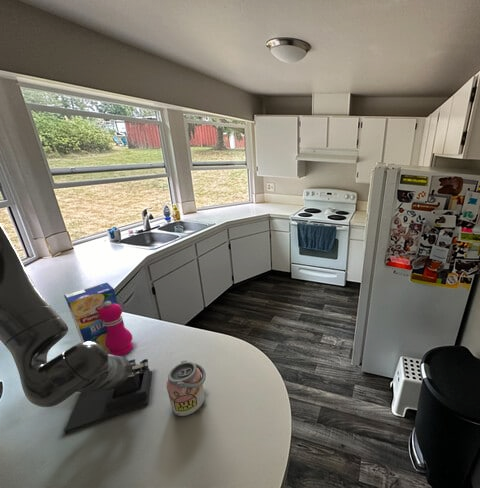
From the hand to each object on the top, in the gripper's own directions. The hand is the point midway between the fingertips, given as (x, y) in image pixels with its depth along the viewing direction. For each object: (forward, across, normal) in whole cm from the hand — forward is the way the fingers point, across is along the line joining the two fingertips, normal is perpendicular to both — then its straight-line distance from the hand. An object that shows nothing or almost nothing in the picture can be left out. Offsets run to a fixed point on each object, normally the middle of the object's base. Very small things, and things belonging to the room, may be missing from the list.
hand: (127, 373), depth 71 cm
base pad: (+3, +4, +6) cm, 8 cm away
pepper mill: (+18, +6, -10) cm, 22 cm away
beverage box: (+22, +11, -13) cm, 28 cm away
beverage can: (-4, -15, +13) cm, 21 cm away
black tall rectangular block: (+2, 0, +5) cm, 6 cm away
